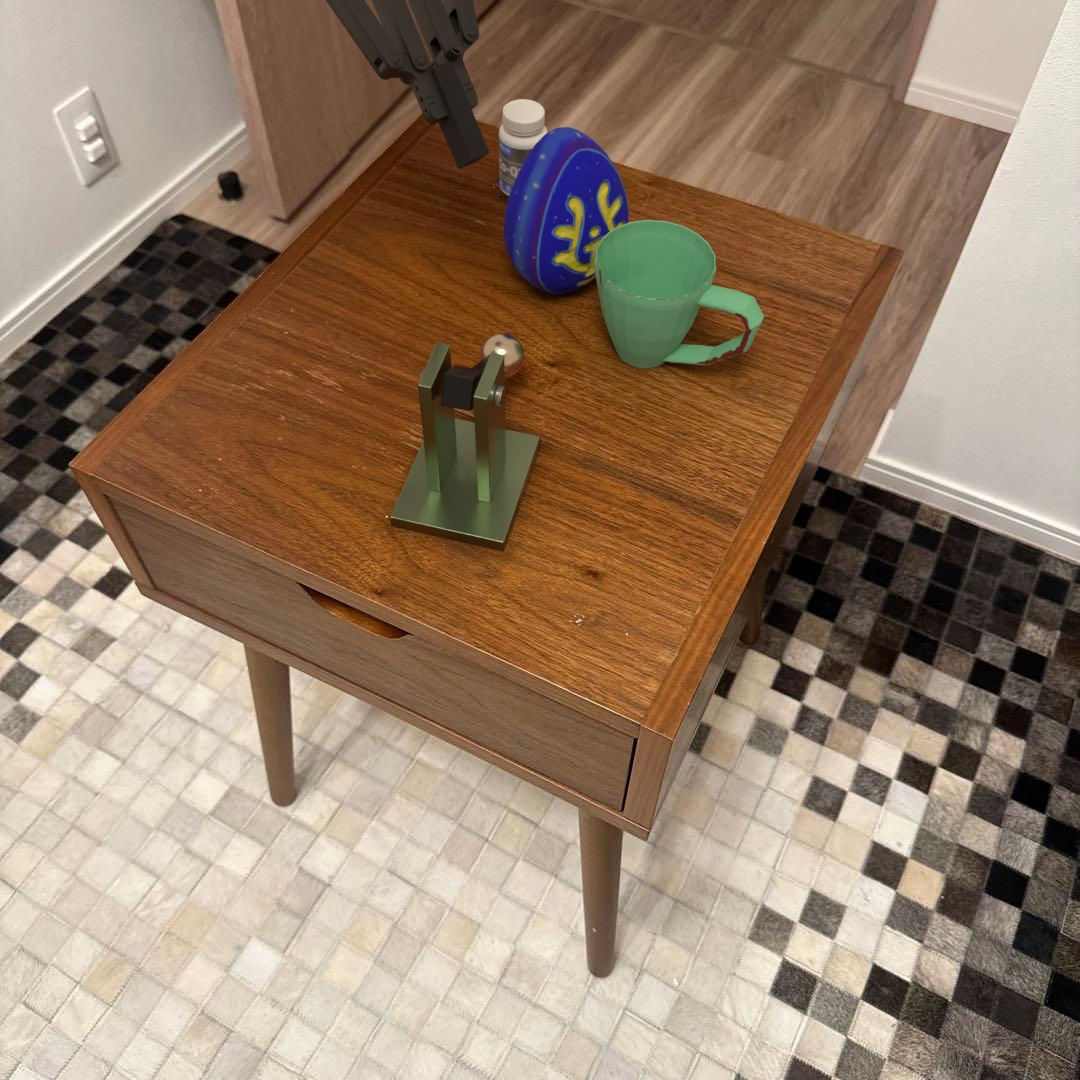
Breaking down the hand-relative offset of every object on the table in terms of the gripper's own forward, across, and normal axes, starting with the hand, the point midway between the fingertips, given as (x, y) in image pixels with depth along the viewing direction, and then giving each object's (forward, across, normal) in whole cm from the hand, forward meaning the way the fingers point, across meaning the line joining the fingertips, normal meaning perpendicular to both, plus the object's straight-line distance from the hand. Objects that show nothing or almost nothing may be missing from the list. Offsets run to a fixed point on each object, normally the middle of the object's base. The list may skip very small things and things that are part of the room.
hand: (473, 160), depth 77 cm
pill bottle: (+1, -17, -27) cm, 32 cm away
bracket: (+22, +8, -7) cm, 24 cm away
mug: (+21, -14, -8) cm, 26 cm away
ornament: (+11, -12, -18) cm, 24 cm away
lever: (+16, +5, -4) cm, 17 cm away
